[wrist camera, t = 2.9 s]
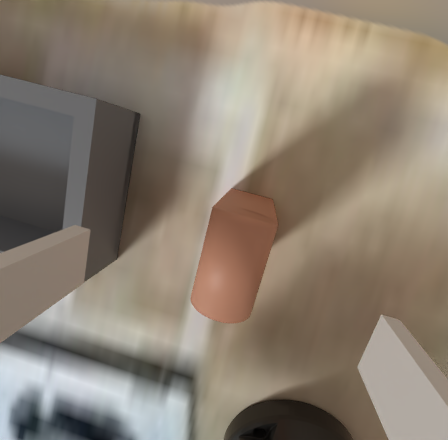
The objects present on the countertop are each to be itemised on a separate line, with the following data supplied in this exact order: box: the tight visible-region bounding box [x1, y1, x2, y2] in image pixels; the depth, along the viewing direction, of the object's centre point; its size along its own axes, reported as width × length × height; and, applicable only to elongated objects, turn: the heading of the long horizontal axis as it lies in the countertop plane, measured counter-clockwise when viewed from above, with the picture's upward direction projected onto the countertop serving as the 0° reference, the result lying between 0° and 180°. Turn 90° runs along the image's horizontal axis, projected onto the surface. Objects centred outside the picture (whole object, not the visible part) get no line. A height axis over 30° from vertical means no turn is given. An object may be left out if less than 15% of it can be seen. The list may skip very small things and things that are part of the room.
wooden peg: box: [191, 188, 278, 323], centre depth 21 cm, size 4×6×12 cm, turn 166°
